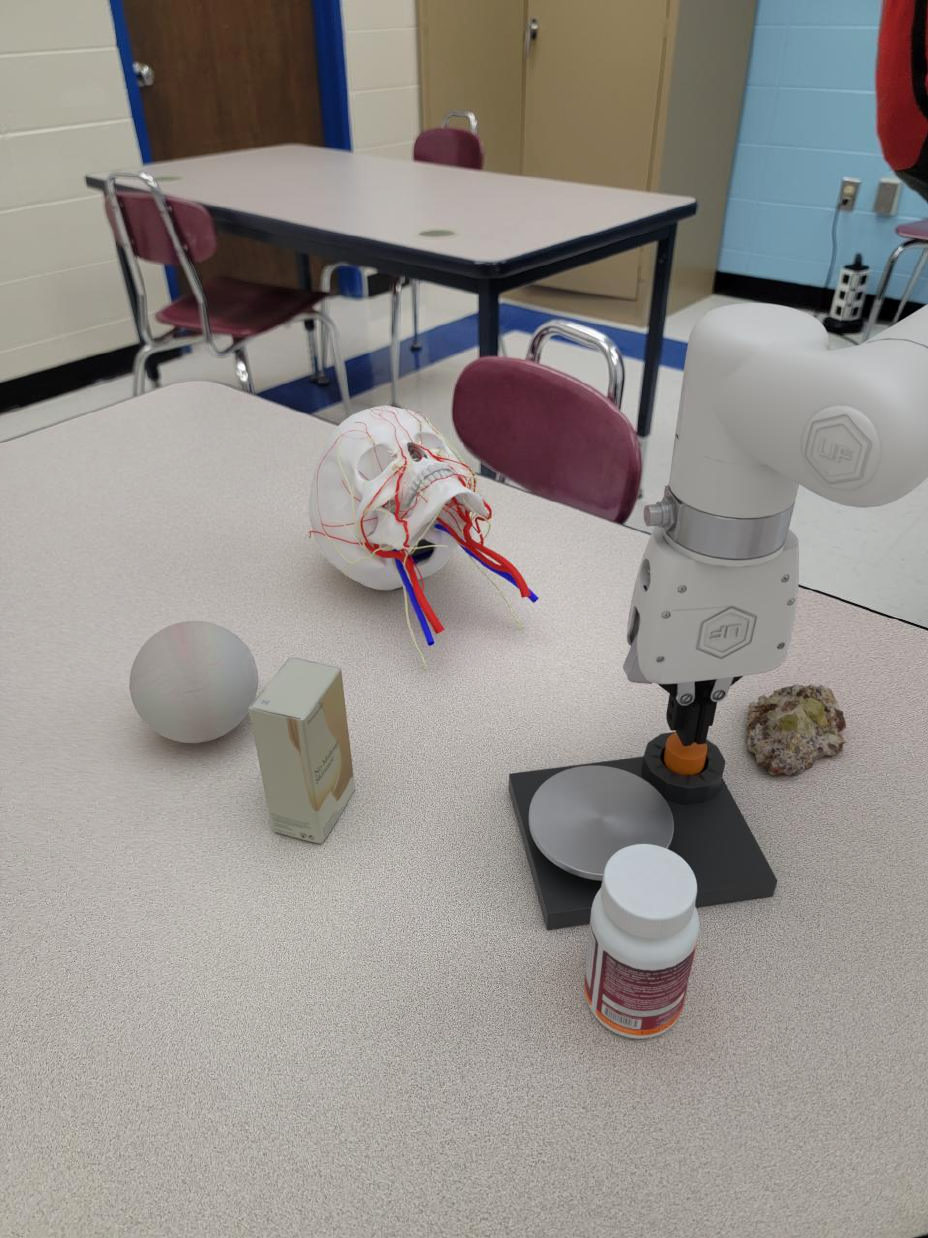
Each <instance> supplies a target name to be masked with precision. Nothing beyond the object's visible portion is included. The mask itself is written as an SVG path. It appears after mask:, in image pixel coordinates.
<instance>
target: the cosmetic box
mask: <svg viewBox="0 0 928 1238" xmlns="http://www.w3.org/2000/svg"><path fill="white" fill-rule="evenodd" d="M248 714H249V718H250V722H251V728H252V733H253V739H254V743H255V748H256V754H257V759H258V764H259V769H260V775H261V779H262V785H263V790H264V796H265V802H266V806H267V813H268V817H269V821H270V827H271V831H272V832H274V833H278V834H282V835H285V836H289V837H291V838H294V839H299V840H303V841H307V842H311V843H316V844H320V845H321V844H322V843H324V841H325V840H326V838H327V837H328V835H329V834H330V833H331V831H332V829H333V827H334V826H335V824H336V823H337V821H338V820H339V818H340V816H341V814H342V813H343V811H344V810H345V808H346V805H348V803H349V801H350V798H351V797H352V795H353V793H354V791H355V789H356V785H355V784H356V783H355V776H354V769H353V759H352V751H351V750H352V749H351V742H350V733H349V725H348V717H347V707H346V698H345V690H344V682H343V672H342V668H341V667H339V666H334V665H330V664H325V663H323V662H322V663H321V662H317V661H314V660H313V661H312V660H309V659H303V658H300V657H295V656H290V657H288V659H287V660H286V661H285V662H284V663H283V664H282V666H281V667H280V668H279V669H278V671H277V672H276V673H275V674H274V676H272V678H270V680H269V681H268V682H267V683H266V685H265V686H264V687H263V689H262V690H261V692H260V693H259V694H257V696H256V697H255V699H254V701H253V703H252V704H251V705H250V706H249V712H248Z"/></svg>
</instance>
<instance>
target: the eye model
mask: <svg viewBox="0 0 928 1238" xmlns="http://www.w3.org/2000/svg"><path fill="white" fill-rule="evenodd" d="M258 689H259V672H258V666H257V663H256V660H255V657H254V655H253V653H252V650H251V649H250V648H249V646H248V645H247V644H246V643H245V642H244V641H243V640H242V639H241V638H240V637H239V636H237V635H236V634H235V633H234V632H233V631H231V630H230V629H228V628H226V627H224V626H222V625H220V624H218V623H214V622H211V621H210V622H209V621H204V620H185V621H181V622H176V623H172V624H170V625H168V626H166V627H164V628H162V629H159V630H158V631H157V632H156V633H154V634H153V635H152V636H151V637H149V638H148V640H146V641H145V642H144V644H143V645H142V646H141V647H140V649H139V650H138V652H137V654H136V656H135V658H134V660H133V663H132V666H131V669H130V673H129V692H130V698H131V701H132V704H133V706H134V709H135V711H136V712H137V715H138V716H139V717H140V719H141V720H142V721H143V723H145V724H146V725H147V726H148V727H149V728H150V729H152V730H153V731H154V732H155V733H157V734H158V735H160V736H161V737H164V738H165V739H169V740H171V741H175V742H179V743H184V744H199V743H200V744H201V743H206V742H209V741H213V740H216V739H219V738H221V737H223V736H225V735H227V734H228V733H230V732H231V731H233V730H234V729H235V728H236V727H238V725H240V723H242V721H244V719H245V718H246V717H247V715H248V714H249V706H250V705H251V704H252V703H253V701H254V700H255V699H256V697H257V693H258Z"/></svg>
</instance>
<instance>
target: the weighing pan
mask: <svg viewBox="0 0 928 1238" xmlns="http://www.w3.org/2000/svg"><path fill="white" fill-rule="evenodd" d="M529 827H530V832H531V835H532V837H533V840H534V842H535V843H536V845H537V847H538V848H539V849H540V851H541V852H542V853H543V854H544V855H545V856H546V857H547V858H548V859H549V860H550V861H551V862H553V863H554V864H555V865H557V866H558V867H560V868H562V869H563V870H565V871H567V872H569V873H572V874H574V875H577V876H580V877H583V878H587V879H592V880H600V881H603V874H604V869H605V866H606V864H607V862H608V861H609V859H610V858H611V857H612V856H613V855H614V854H615V853H616V852H617V851H619V850H621V849H623V848H625V847H628V846H631V845H635V844H651V845H656V846H660V847H664V848H666V849H668V850H669V848H670V845H671V842H672V838H673V831H674V821H673V816H672V813H671V810H670V808H669V806H668V804H667V802H666V800H665V799H664V798H663V796H662V795H661V794H660V793H659V792H658V791H657V790H656V789H655V788H654V787H653V786H652V785H651V784H649V783H648V782H647V781H645V780H644V779H642V778H640V777H638V776H636V775H634V774H632V773H630V772H627V771H624V770H621V769H618V768H613V767H607V766H580V767H575V768H571V769H567V770H565V771H562V772H560V773H557V774H556V775H554V776H552V777H551V778H549V779H548V780H547V781H545V782H544V783H543V784H542V785H541V786H540V787H539V789H538V790H537V791H536V793H535V794H534V796H533V798H532V801H531V804H530V809H529Z"/></svg>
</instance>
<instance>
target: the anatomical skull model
mask: <svg viewBox="0 0 928 1238" xmlns="http://www.w3.org/2000/svg"><path fill="white" fill-rule="evenodd" d="M419 413H421V414H423V416H424V417H422V415H421V414H419ZM454 449H455V450H454ZM477 474H478V473H477V472H474V470H473V469H472V468H471V467H469V466H468V465H467V464H466V463H465V460H464V459H463V457H462V456H461V454H460V452H459V451H458V450H457V449H456V447H455V446H454V445H453V444H451V445H450V444H449V442H448V441H447V439H446V438H445V437H444V435H443V433H442V432H440V431H439V430H438V429H437V428H435V427H434V426H433V424H432V423H431V422H430V420H429V419H428V417H427V415H426V413H425V412H423V411H422V410H419V411H417V412H415V411H413V410H410V409H408V408H406V409H405V408H399V407H395V406H392V405H380V406H379V405H378V406H374V407H371V408H367V409H363V410H360V411H357V412H355V413H353V414H351V415H350V416H348V417H346V419H344V420H343V421H341V422H340V423H339V424H338V426H337V427H336V428H335V429H334V430H333V432H332V433H331V435H330V436H329V438H328V439H327V441H326V443H325V444H324V446H323V448H322V450H321V453H320V455H319V457H318V460H317V463H316V466H315V468H314V471H313V476H312V480H311V483H310V484H311V485H310V490H309V491H310V492H309V498H308V517H309V522H310V525H311V529H312V530H309V531H308V534H309V537H308V539H311V536H312V533H313V537H314V540H315V542H316V544H317V546H318V548H319V550H320V551H321V553H322V555H323V557H325V559H326V560H327V561H328V562H329V563H330V564H331V565H332V566H333V567H334V568H336V570H339V571H340V572H341V573H342V574H343V575H344V577H345V578H349V579H351V580H353V581H355V582H357V583H359V584H361V585H362V586H364V587H366V588H369V589H372V590H373V589H374V590H379V591H393V590H395V589H399V588H402V589H403V596H404V597H403V598H404V611H405V619H406V624H407V627H408V630H409V633H410V637H411V640H412V643H413V645H414V647H415V649H416V651H417V653H418V654H419V656H420V658H421V661H422V665H423V671H424V672H425V671H426V670H427V667H426V661H425V658H424V655H423V653H422V651H421V650H420V648H419V646H418V643H417V641H416V638H415V635H414V632H413V629H412V626H411V622H410V617H409V609H408V607H409V606H408V598H409V601H410V604H411V607H412V608H413V611H414V612H415V615H416V618H417V620H418V622H419V625H420V627H421V631H422V632H423V635H424V637H425V640H426V643H427V646H428V647H431V646H433V645H434V644H435V640H434V637H433V634H432V632H431V629H430V627H431V628H432V630H433V632H434V633H435V635H439V634H441V633H442V632H444V631H445V630H446V629H445V627H444V626H443V623H442V622H441V621H440V619H439V618H438V616H437V614H436V613H435V611H434V609H433V608H432V606H431V604H430V603H429V601H428V599H427V598H426V596H425V593H424V588H425V587H424V580H423V579H424V578H428V577H429V576H432V575H434V574H436V573H437V572H439V571H440V570H441V569H442V568H443V567H444V566H445V565H446V564H447V563H448V561H449V560H450V559H451V557H452V555H453V554H454V553H455V551H456V549H457V548H458V547H460V548H461V549H462V550H463V551H464V552H465V553H466V554H467V555H468V557H469V559H470V561H471V562H472V563H473V565H474V566H475V567H477V569H478V570H479V571H480V572H481V573H482V574H483V575H484V576H485V577H486V578H487V579H488V580H489V581H490V582H491V583H492V584H493V586H494V587H495V589H496V590H497V591H498V592H499V594H500V595H501V597H502V599H503V600H504V601H505V603H506V605H507V607H508V608H509V611H510V613H511V615H512V617H513V619H514V620H515V622H516V623H517V624H518V625H519V627H520V628H521V629H522V630H524V629H525V627H524V625H523V624H522V623H520V621H519V620H518V618H517V617H516V615H515V612H514V610H513V607H512V606H511V604H510V603H509V600H508V599H507V598H506V596H505V595H504V593H503V592H502V590H501V589H500V587H499V586H498V585H497V583H496V582H495V581H494V580H493V578H491V577H490V576H489V575H488V573H486V572H485V570H483V569H482V568H481V566H483V567H484V568H486V569H487V570H489V571H491V572H493V573H494V574H496V575H498V576H500V577H501V578H503V579H505V580H506V581H507V582H510V584H512V585H513V586H515V588H517V589H518V590H519V593H520V597H521V599H523V598H528V599H529V601H531V602H532V603H533V604H535V603H536V602H537V601H538V600H539V597H538V596H537V595H536V594H535V592H533V590H531V589H530V587H528V584H527V582H526V580H525V579H524V577H523V575H522V574H521V572H520V571H519V569H518V568H517V567H515V565H514V564H513V563H512V562H510V561H509V560H508V559H507V558H505V557H504V556H502V555H501V554H500V553H498V552H496V551H494V550H492V549H490V548H489V547H486V546H485V545H484V544H485V542H484V541H485V539H487V537H488V535H489V532H490V530H491V523H492V521H493V515H492V514H493V512H492V511H493V509H492V508H491V506H490V503H488V502H487V501H486V499H485V496H482V494H481V491H480V488H479V487H478V485H477V482H478V481H477V480H479V478H478V477H477ZM464 479H465V480H464ZM478 521H481V522H486V523H487V524H486V525H485V526H484V527H483V529H482V530H481V527H480V525H479V522H478ZM474 524H475V526H474ZM487 527H488V529H487V532H486V534H485V535H484V536H483V532H484V531H485V529H486V528H487ZM475 532H476V533H477V534H478V535H477V537H479V539H480V541H479V542H477V541H476V540H475V539H473V537H474V536H475ZM486 556H487V557H486ZM488 557H489V558H490V559H489V558H488ZM475 560H476V561H477V562H479V564H481V566H479V564H477V562H476V561H475ZM493 560H494V561H493ZM495 562H496V563H495ZM419 580H421V584H422V586H421V585H420V582H419ZM421 587H422V588H421ZM407 595H408V596H407ZM428 623H429V624H430V625H431V626H430V625H429V624H428Z"/></svg>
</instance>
